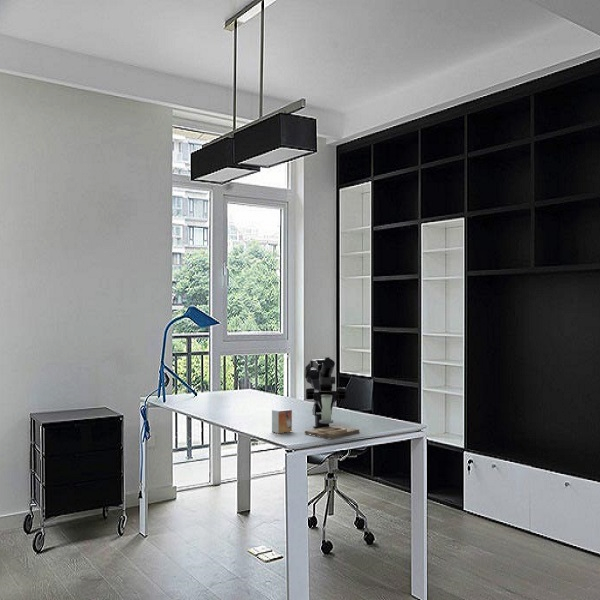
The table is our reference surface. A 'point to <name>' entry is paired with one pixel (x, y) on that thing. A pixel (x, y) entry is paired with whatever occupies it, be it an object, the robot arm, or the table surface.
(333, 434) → the notched board
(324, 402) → the bobbin
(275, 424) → the small box
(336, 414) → the table surface
